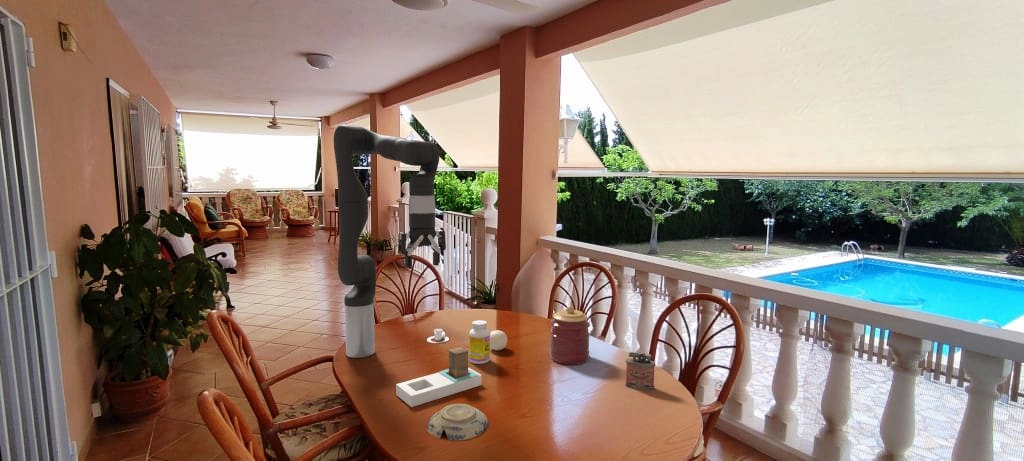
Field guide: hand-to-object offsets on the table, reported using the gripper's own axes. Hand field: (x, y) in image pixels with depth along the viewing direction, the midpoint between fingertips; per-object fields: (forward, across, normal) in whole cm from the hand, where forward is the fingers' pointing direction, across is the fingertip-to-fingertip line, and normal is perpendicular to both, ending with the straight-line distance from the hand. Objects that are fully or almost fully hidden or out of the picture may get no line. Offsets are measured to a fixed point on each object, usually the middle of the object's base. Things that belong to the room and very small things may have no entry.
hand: (422, 266), depth 139 cm
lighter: (+33, -45, +44) cm, 71 cm away
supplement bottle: (+33, -20, 0) cm, 39 cm away
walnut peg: (+33, -5, +11) cm, 35 cm away
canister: (+33, -45, +16) cm, 58 cm away
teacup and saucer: (+34, -23, -26) cm, 48 cm away
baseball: (+33, -31, -5) cm, 46 cm away
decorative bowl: (+34, +7, +30) cm, 46 cm away
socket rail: (+33, +1, +11) cm, 35 cm away
